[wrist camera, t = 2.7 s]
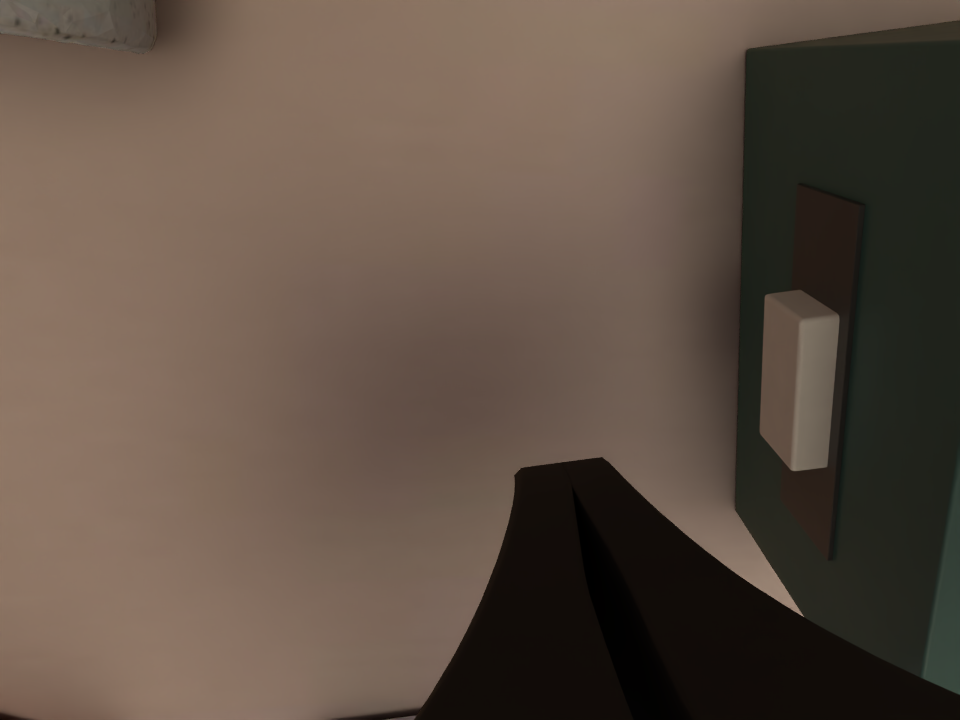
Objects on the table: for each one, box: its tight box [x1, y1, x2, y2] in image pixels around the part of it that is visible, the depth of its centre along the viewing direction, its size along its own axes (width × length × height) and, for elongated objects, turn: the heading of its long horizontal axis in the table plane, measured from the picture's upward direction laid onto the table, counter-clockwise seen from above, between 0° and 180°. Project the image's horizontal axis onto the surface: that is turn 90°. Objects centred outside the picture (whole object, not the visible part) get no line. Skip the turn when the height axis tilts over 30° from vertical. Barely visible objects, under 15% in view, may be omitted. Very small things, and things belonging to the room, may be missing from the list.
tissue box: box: [736, 20, 960, 695], centre depth 14 cm, size 12×6×8 cm, turn 7°
